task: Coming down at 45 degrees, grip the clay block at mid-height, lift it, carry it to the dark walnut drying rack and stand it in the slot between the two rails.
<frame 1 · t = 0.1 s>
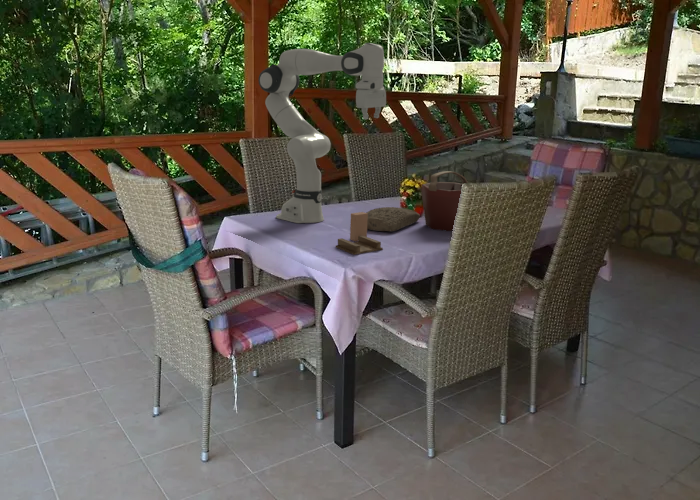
hand: (371, 118, 264), 48 cm above the table, tool pointing down, fingers open, 8 cm apart
stone tablet: (387, 225, 288), on the table
bucket: (443, 226, 288), on the table
rack: (358, 248, 247), on the table
clay block: (358, 239, 261), on the table
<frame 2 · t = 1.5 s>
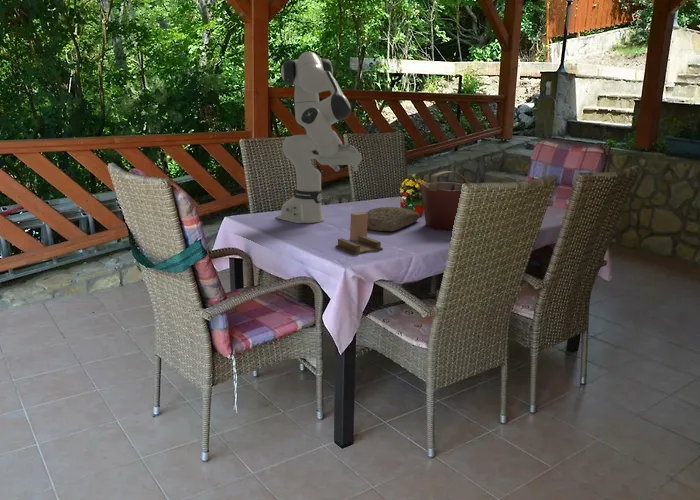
hand: (347, 170, 248), 29 cm above the table, tool tilted 40°, fingers open, 8 cm apart
nothing on the table moved.
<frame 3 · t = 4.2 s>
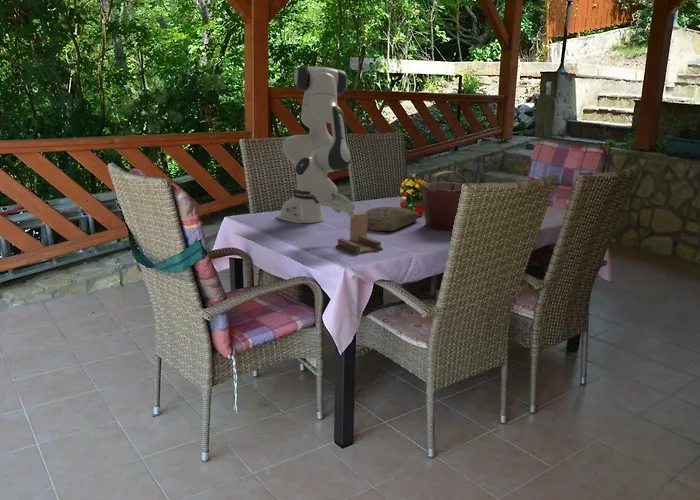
hand: (345, 213, 254), 12 cm above the table, tool tilted 45°, fingers open, 8 cm apart
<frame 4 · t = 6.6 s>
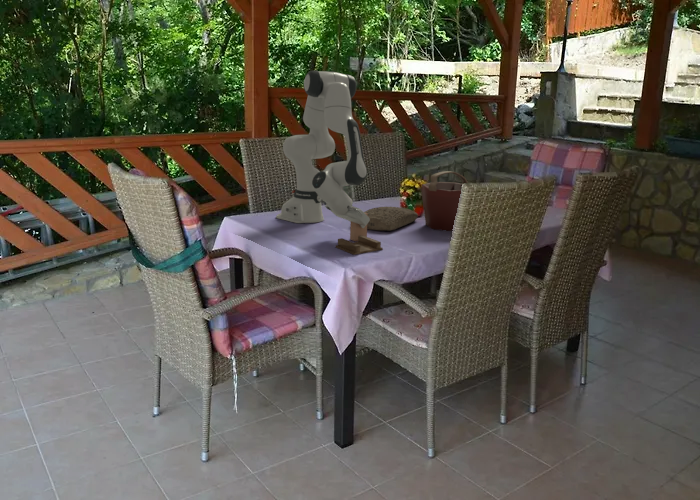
hand: (360, 225, 260), 6 cm above the table, tool tilted 45°, fingers closed on clay block, 3 cm apart
clay block: (358, 239, 261), on the table, touching gripper
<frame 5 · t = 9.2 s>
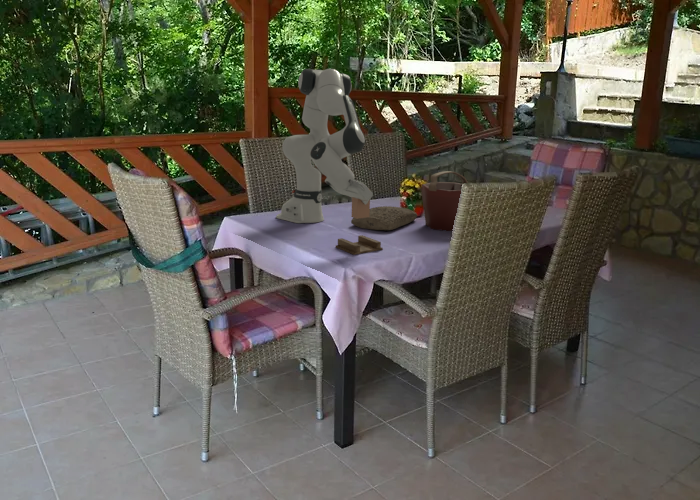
hand: (362, 201, 243), 19 cm above the table, tool tilted 45°, fingers closed on clay block, 3 cm apart
clay block: (360, 216, 244), point 13 cm above the table, touching gripper
when the fingers open (8 cm above the table, at t = 11.9 s): clay block drops 1 cm, resting on rack.
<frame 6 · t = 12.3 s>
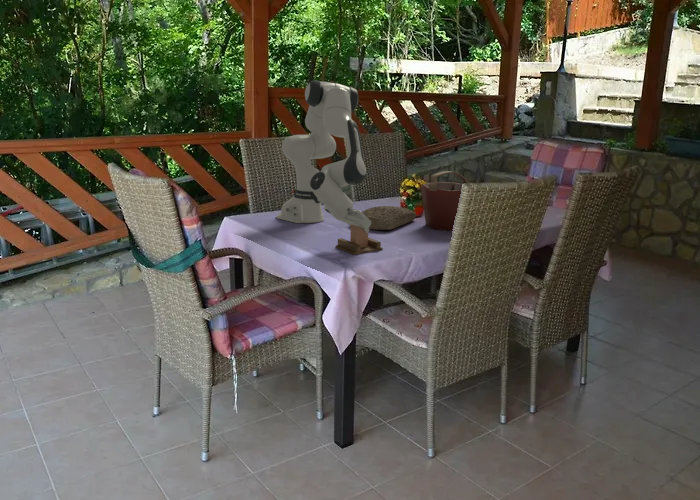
hand: (360, 228, 246), 8 cm above the table, tool tilted 45°, fingers open, 7 cm apart
clay block: (358, 246, 247), point 1 cm above the table, touching rack
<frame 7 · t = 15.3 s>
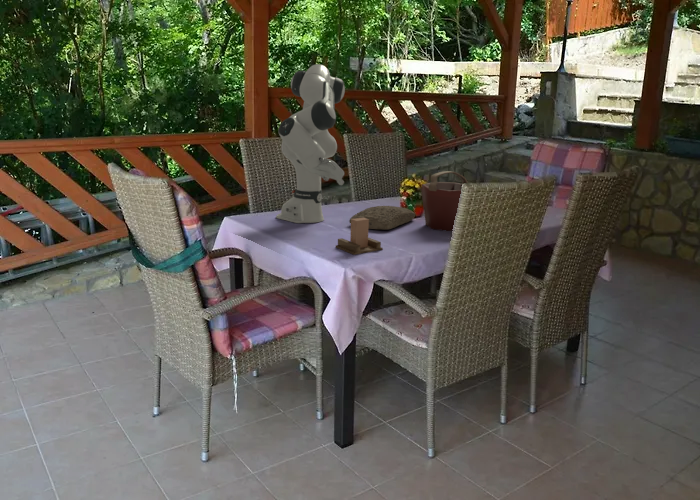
hand: (334, 181, 233), 27 cm above the table, tool tilted 45°, fingers open, 8 cm apart
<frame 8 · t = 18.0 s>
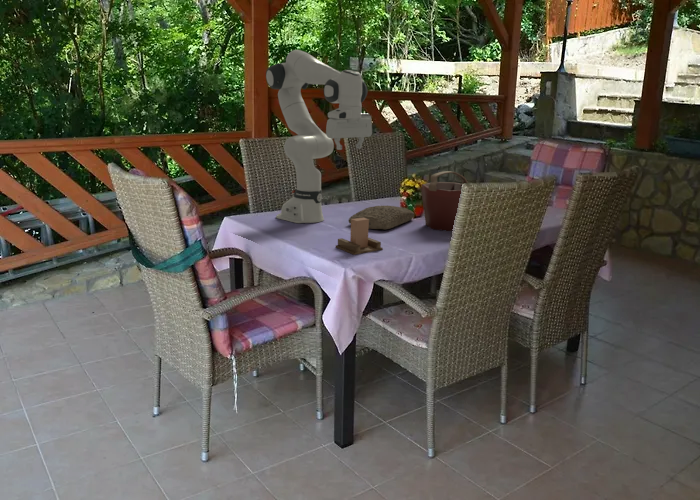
hand: (349, 149, 250), 37 cm above the table, tool pointing down, fingers open, 8 cm apart
at the end: clay block 0.1 cm from the rack (horizontally); clay block tilted 0°; clay block point 0.8 cm above the table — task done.
